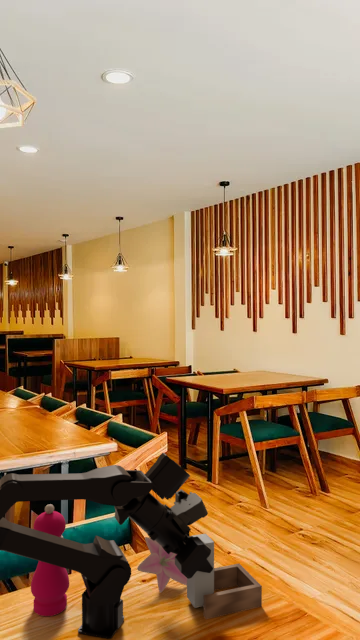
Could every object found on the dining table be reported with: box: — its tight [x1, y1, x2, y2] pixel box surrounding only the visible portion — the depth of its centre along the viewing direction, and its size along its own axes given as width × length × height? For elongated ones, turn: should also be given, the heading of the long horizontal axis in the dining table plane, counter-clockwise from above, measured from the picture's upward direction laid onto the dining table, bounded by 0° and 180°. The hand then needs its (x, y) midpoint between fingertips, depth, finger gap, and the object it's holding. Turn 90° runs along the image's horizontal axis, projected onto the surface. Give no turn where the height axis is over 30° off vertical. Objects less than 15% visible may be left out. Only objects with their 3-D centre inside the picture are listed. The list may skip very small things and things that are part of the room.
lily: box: [136, 536, 187, 593], centre depth 111 cm, size 12×12×10 cm
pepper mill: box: [30, 503, 70, 617], centre depth 101 cm, size 7×7×20 cm
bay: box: [203, 563, 263, 620], centre depth 104 cm, size 12×10×4 cm
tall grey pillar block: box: [186, 533, 215, 609], centre depth 102 cm, size 4×4×12 cm
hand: (207, 565), depth 102 cm, fingers closed on tall grey pillar block, 4 cm apart
